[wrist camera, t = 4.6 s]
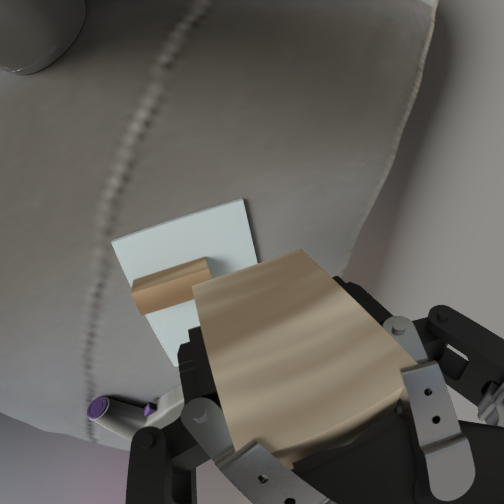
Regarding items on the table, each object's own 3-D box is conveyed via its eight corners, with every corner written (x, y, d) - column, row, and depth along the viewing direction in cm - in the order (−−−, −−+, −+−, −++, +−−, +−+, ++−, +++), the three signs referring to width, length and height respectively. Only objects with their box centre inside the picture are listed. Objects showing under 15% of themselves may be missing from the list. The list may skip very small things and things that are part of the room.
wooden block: (191, 285, 12) (239, 463, 5) (300, 248, 13) (424, 370, 6) (211, 334, 14) (262, 485, 7) (306, 299, 15) (401, 417, 8)
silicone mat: (112, 240, 22) (111, 242, 21) (241, 198, 24) (243, 199, 23) (174, 363, 29) (174, 367, 29) (271, 331, 31) (273, 334, 31)
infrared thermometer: (216, 378, 34) (156, 430, 34) (138, 338, 28) (86, 401, 29) (225, 404, 30) (159, 453, 30) (138, 365, 24) (83, 426, 25)
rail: (133, 279, 23) (130, 293, 21) (204, 256, 24) (208, 268, 22) (143, 300, 24) (141, 315, 22) (212, 278, 26) (216, 292, 23)
